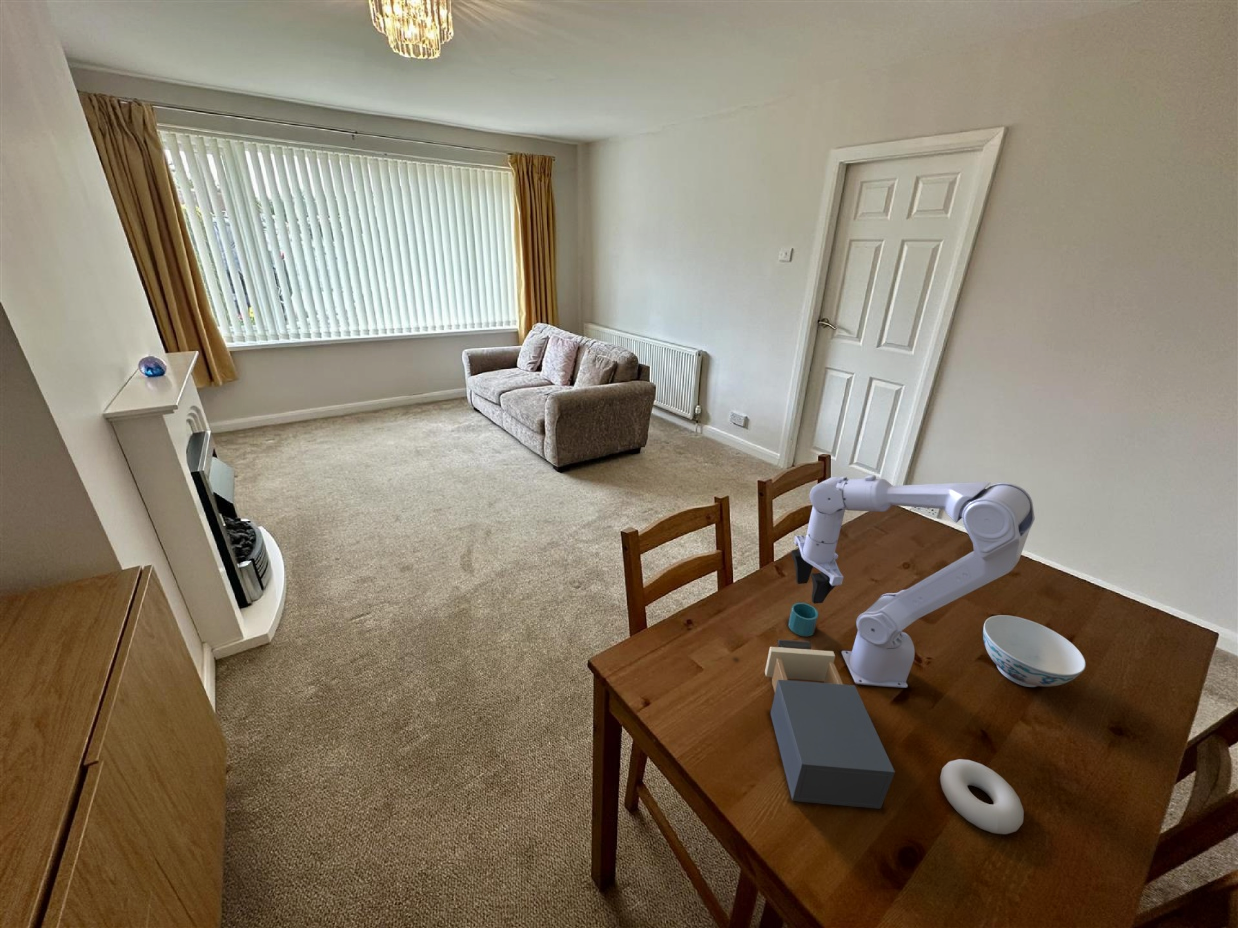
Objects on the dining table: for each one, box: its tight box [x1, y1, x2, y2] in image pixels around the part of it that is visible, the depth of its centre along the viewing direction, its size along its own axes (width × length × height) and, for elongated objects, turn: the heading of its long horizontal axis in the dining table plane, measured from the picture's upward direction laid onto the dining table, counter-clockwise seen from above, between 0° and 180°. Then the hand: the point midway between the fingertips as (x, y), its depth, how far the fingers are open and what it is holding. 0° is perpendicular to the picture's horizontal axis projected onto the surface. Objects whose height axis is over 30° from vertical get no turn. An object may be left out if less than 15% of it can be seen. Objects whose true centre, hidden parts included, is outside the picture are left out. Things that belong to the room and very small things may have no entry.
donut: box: [939, 758, 1025, 835], centre depth 70 cm, size 10×4×10 cm
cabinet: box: [770, 679, 896, 810], centre depth 75 cm, size 15×13×8 cm
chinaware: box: [982, 614, 1087, 688], centre depth 92 cm, size 15×15×8 cm
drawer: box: [764, 638, 844, 693], centre depth 85 cm, size 18×11×6 cm, turn 176°
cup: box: [787, 602, 819, 637], centre depth 102 cm, size 5×5×4 cm
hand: (809, 592), depth 99 cm, fingers open, 6 cm apart
